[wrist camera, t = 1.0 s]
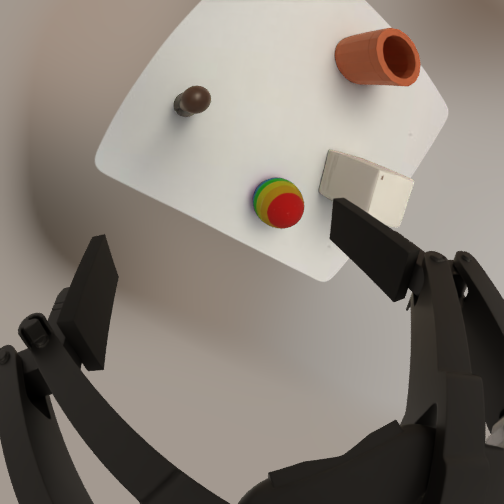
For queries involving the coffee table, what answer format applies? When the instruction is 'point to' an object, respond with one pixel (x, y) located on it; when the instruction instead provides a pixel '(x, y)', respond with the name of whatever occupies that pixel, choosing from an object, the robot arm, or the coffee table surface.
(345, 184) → the rectangular carton
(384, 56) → the jar
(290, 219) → the decorative egg
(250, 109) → the coffee table surface
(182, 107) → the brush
